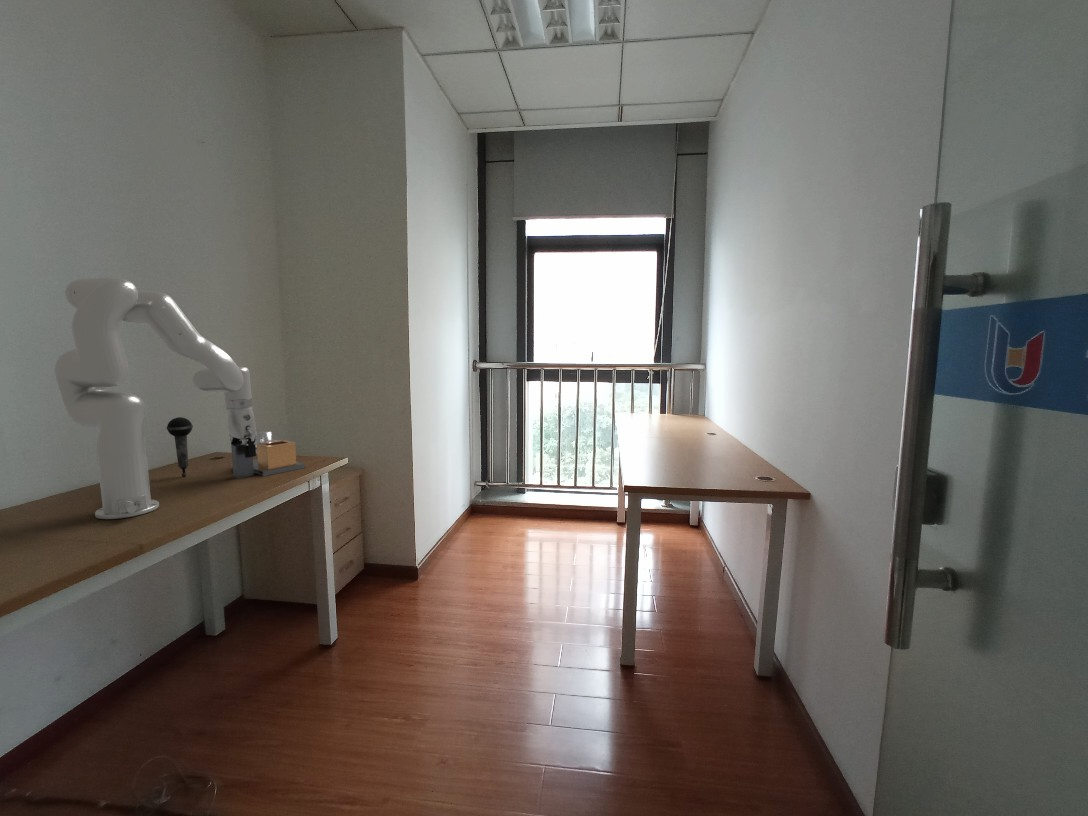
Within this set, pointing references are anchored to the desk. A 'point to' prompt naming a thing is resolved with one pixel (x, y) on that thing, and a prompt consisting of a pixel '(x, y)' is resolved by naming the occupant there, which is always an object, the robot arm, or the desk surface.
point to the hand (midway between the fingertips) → (244, 454)
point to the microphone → (180, 439)
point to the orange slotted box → (274, 455)
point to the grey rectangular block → (241, 462)
